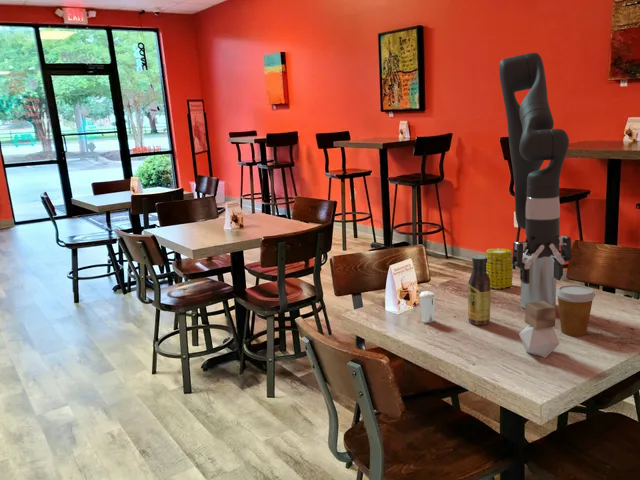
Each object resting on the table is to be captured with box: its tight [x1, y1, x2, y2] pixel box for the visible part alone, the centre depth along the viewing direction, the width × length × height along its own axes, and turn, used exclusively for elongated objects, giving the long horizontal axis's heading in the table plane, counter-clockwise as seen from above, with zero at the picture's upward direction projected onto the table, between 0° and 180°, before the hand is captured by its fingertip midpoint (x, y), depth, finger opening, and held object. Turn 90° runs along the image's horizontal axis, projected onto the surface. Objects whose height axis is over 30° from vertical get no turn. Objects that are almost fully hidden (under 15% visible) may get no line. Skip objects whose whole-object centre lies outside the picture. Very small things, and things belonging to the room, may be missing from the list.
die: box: [518, 324, 561, 359], centre depth 138 cm, size 8×9×10 cm
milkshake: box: [418, 288, 439, 324], centre depth 164 cm, size 4×5×10 cm
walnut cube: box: [524, 301, 557, 329], centre depth 137 cm, size 5×5×5 cm
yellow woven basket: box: [485, 247, 514, 290], centre depth 192 cm, size 14×11×9 cm
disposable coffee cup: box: [556, 284, 596, 337], centre depth 149 cm, size 10×10×12 cm
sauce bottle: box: [467, 254, 492, 326], centre depth 159 cm, size 7×6×20 cm
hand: (541, 280), depth 135 cm, fingers open, 8 cm apart
